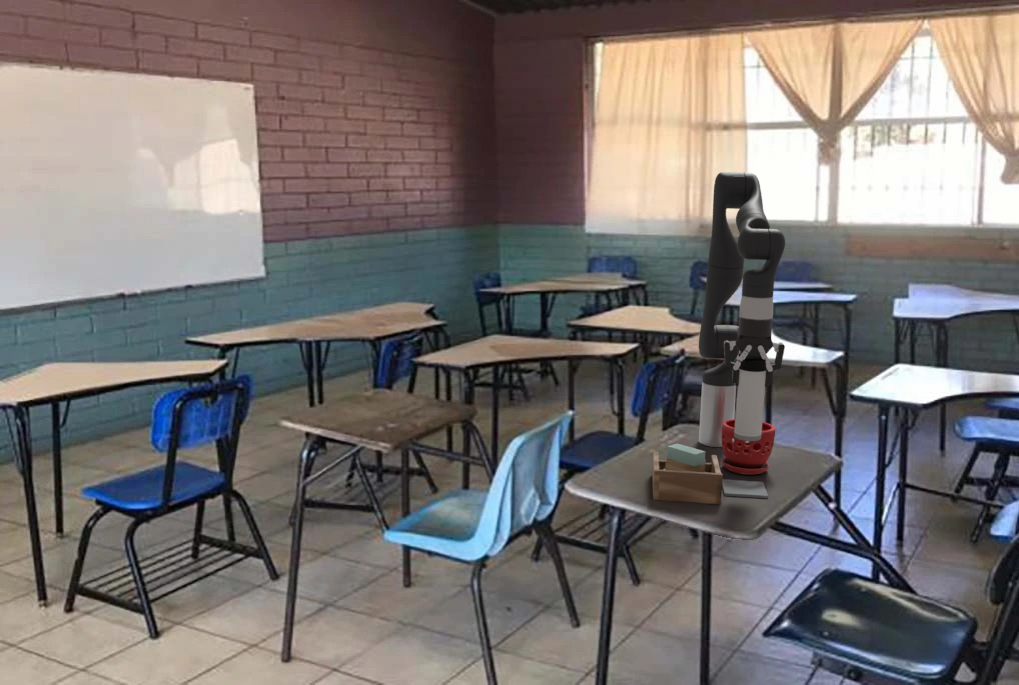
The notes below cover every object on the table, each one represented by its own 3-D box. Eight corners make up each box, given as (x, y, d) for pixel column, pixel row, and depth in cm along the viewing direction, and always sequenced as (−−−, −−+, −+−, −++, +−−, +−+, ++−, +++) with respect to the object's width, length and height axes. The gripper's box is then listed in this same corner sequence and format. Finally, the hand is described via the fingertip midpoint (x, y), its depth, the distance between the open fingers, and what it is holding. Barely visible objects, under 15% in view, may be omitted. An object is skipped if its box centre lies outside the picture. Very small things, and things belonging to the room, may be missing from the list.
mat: (721, 481, 236) (721, 479, 236) (762, 484, 235) (763, 481, 235) (724, 495, 227) (724, 493, 226) (768, 498, 225) (768, 495, 225)
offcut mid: (666, 468, 238) (667, 456, 237) (704, 472, 235) (705, 460, 235) (664, 473, 234) (665, 461, 233) (703, 477, 231) (704, 465, 231)
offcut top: (676, 455, 238) (677, 443, 238) (704, 463, 232) (705, 451, 232) (667, 458, 236) (667, 446, 235) (695, 466, 230) (695, 454, 229)
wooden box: (652, 474, 240) (653, 447, 239) (715, 478, 238) (716, 451, 237) (653, 499, 223) (654, 470, 222) (720, 504, 221) (722, 474, 220)
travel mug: (766, 437, 229) (772, 355, 225) (753, 443, 224) (759, 359, 220) (742, 431, 233) (748, 350, 229) (729, 437, 228) (734, 354, 224)
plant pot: (773, 479, 239) (777, 433, 236) (719, 475, 241) (722, 429, 239) (770, 463, 251) (773, 419, 249) (719, 459, 254) (721, 415, 251)
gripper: (785, 314, 225) (780, 383, 229) (722, 311, 227) (718, 380, 231) (790, 319, 218) (784, 391, 221) (725, 316, 220) (721, 388, 223)
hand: (751, 385), depth 226 cm, fingers closed on travel mug, 6 cm apart
